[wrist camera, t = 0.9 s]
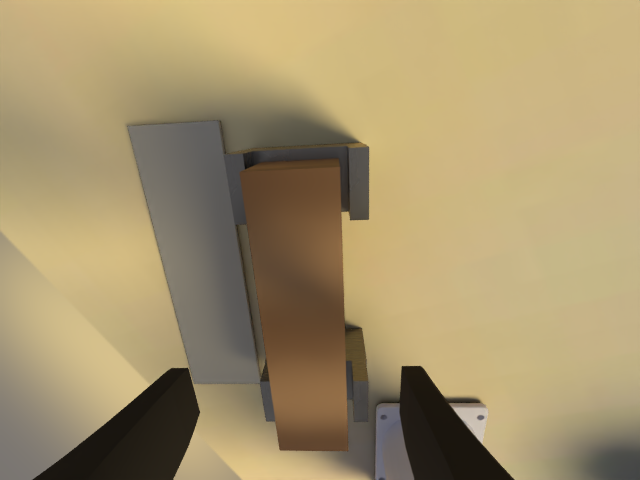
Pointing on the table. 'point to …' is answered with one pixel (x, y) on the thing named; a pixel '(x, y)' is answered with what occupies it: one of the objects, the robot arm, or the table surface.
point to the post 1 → (349, 155)
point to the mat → (199, 246)
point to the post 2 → (354, 378)
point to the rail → (300, 296)
